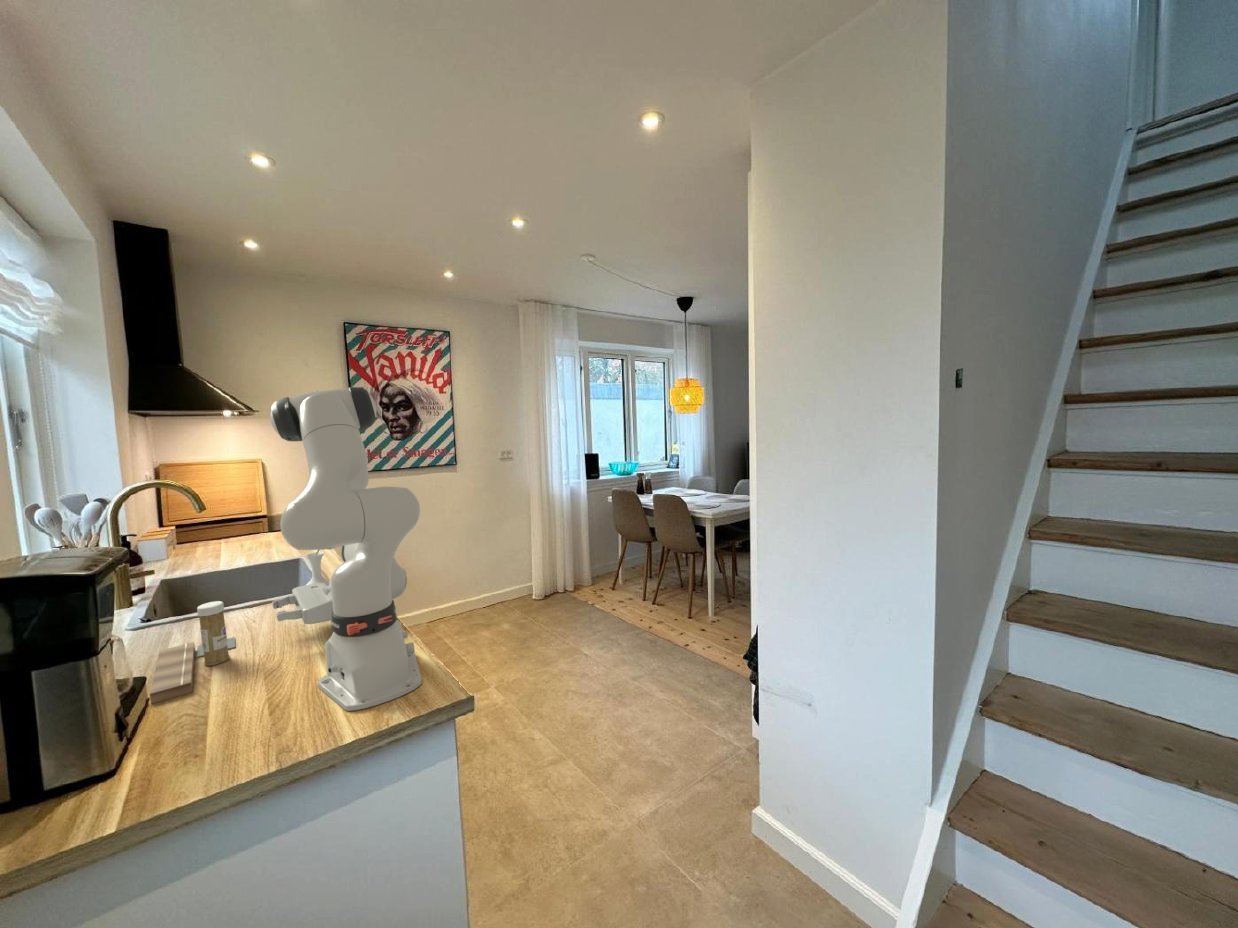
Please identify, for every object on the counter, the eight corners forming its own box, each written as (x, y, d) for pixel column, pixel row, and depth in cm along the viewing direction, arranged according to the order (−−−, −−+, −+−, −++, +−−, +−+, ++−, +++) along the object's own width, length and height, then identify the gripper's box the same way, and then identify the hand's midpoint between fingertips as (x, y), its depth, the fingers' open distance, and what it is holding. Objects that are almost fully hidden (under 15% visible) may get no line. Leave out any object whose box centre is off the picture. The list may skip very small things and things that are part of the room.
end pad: (235, 647, 117) (235, 646, 117) (197, 657, 113) (197, 656, 113) (234, 638, 123) (234, 636, 123) (197, 647, 118) (197, 646, 118)
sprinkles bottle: (228, 662, 110) (221, 604, 109) (202, 668, 108) (195, 609, 106) (230, 654, 114) (224, 598, 113) (205, 660, 112) (198, 603, 110)
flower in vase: (287, 605, 144) (279, 522, 141) (312, 591, 155) (305, 514, 152) (331, 604, 143) (323, 521, 141) (353, 590, 154) (346, 512, 152)
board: (192, 691, 98) (190, 681, 98) (151, 703, 95) (149, 693, 94) (195, 650, 117) (194, 641, 117) (160, 658, 113) (159, 649, 113)
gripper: (330, 574, 134) (269, 586, 125) (347, 595, 118) (278, 611, 110) (332, 596, 135) (271, 610, 126) (349, 619, 119) (280, 637, 110)
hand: (274, 610), depth 118 cm, fingers open, 8 cm apart
